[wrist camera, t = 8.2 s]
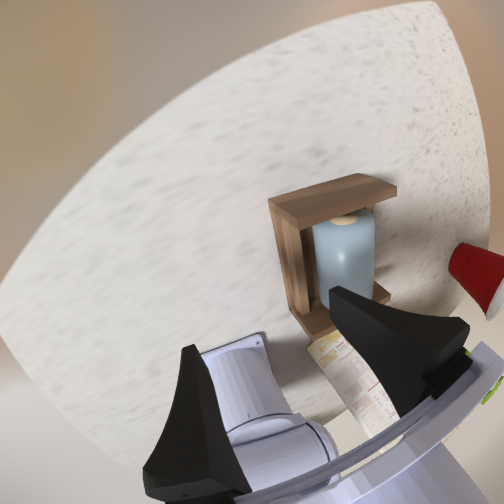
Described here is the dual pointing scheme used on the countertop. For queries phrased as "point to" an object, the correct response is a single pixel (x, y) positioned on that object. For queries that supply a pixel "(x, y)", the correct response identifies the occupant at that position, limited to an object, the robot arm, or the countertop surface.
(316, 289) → the holder
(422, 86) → the countertop surface
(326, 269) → the roll
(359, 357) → the coffeecake box
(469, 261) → the plastic cup
